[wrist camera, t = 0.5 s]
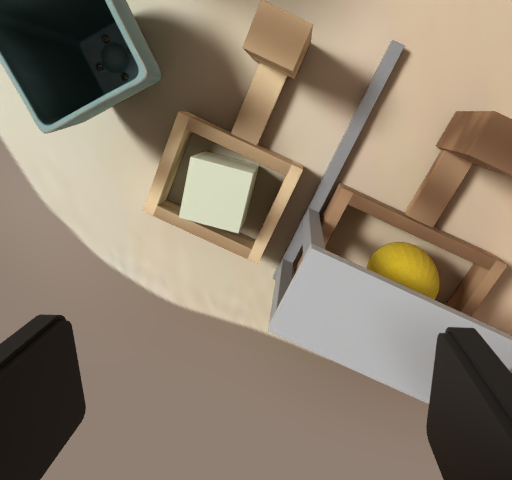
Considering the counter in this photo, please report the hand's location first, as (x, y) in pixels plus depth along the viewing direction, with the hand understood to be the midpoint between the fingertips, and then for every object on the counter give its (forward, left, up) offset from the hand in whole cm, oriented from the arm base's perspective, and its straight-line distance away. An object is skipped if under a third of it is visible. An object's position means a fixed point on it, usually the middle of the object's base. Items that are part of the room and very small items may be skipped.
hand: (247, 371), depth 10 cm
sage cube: (+2, -5, -27) cm, 28 cm away
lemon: (+2, +12, -28) cm, 30 cm away
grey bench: (-3, +10, -27) cm, 29 cm away
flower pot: (-4, -17, -28) cm, 33 cm away
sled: (-2, -5, -27) cm, 28 cm away
